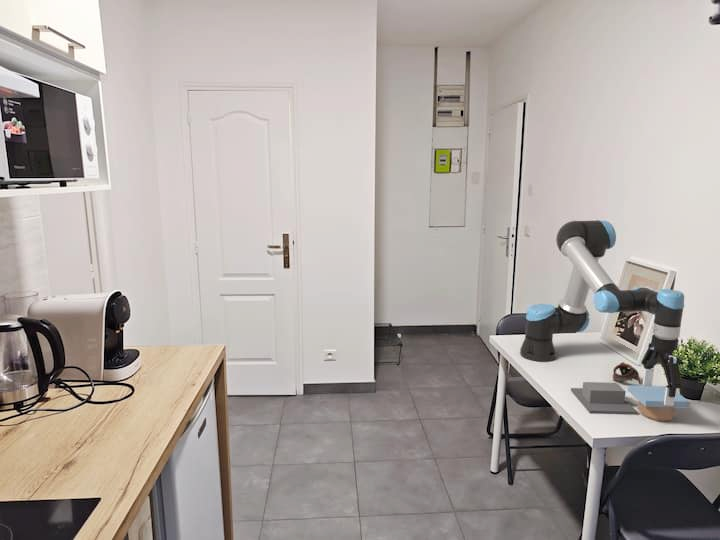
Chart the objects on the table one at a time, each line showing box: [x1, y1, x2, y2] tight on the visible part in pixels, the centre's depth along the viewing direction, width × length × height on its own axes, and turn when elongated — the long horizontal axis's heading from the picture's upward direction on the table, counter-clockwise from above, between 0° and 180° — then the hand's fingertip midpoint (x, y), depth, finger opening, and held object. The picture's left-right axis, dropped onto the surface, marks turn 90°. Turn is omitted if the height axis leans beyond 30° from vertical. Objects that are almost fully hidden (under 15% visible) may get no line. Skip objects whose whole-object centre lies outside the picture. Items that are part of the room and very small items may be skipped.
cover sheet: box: [627, 384, 691, 408], centre depth 165 cm, size 12×14×2 cm
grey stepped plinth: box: [570, 381, 639, 415], centre depth 175 cm, size 18×16×6 cm
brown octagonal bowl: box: [637, 400, 677, 422], centre depth 165 cm, size 10×10×6 cm
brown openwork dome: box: [612, 361, 641, 385], centre depth 193 cm, size 12×10×8 cm
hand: (657, 395), depth 165 cm, fingers open, 13 cm apart
